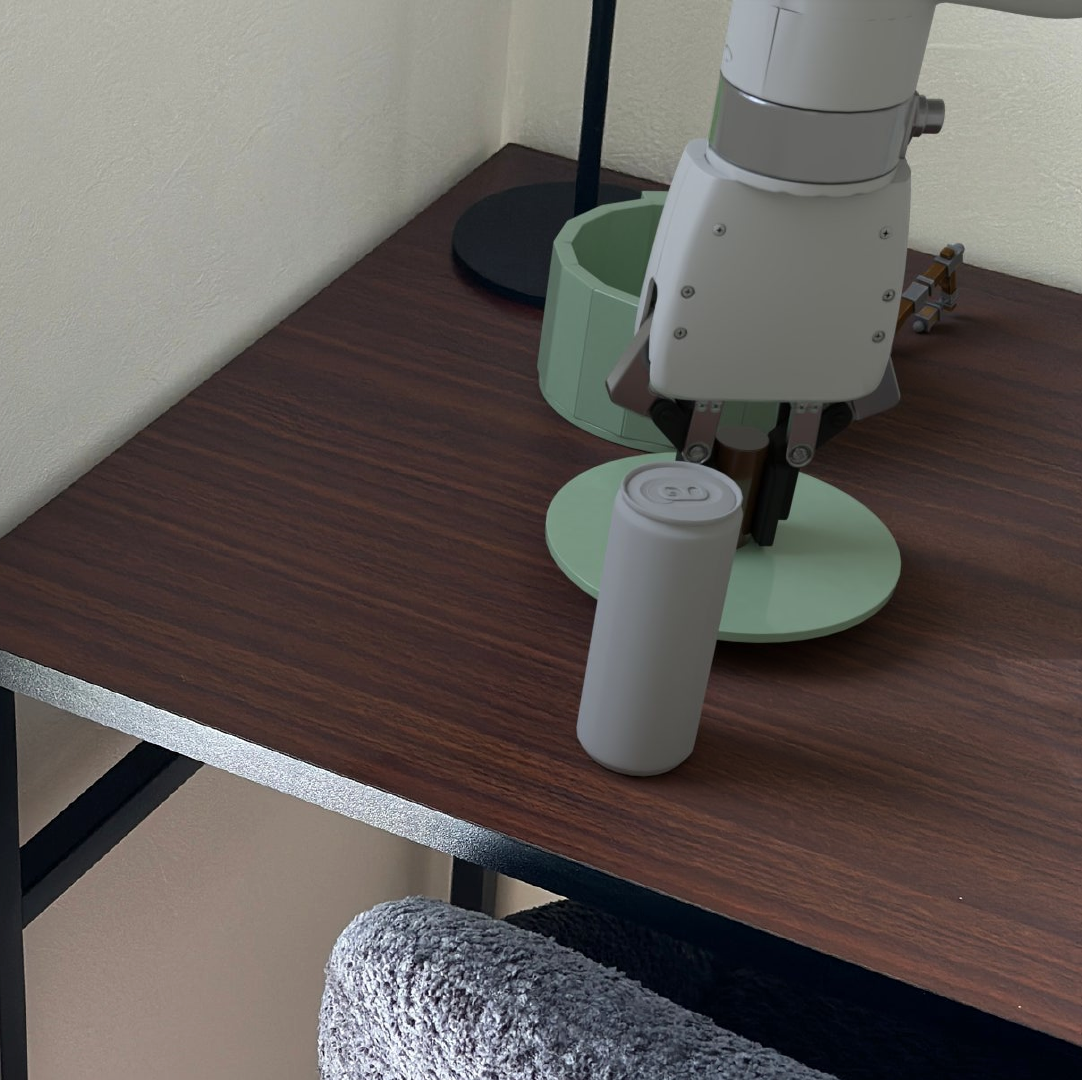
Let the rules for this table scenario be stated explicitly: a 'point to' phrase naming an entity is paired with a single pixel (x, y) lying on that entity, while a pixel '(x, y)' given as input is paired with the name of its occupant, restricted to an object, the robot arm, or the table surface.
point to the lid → (752, 547)
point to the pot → (607, 323)
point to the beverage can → (658, 615)
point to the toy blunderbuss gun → (932, 291)
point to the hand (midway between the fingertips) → (723, 527)
